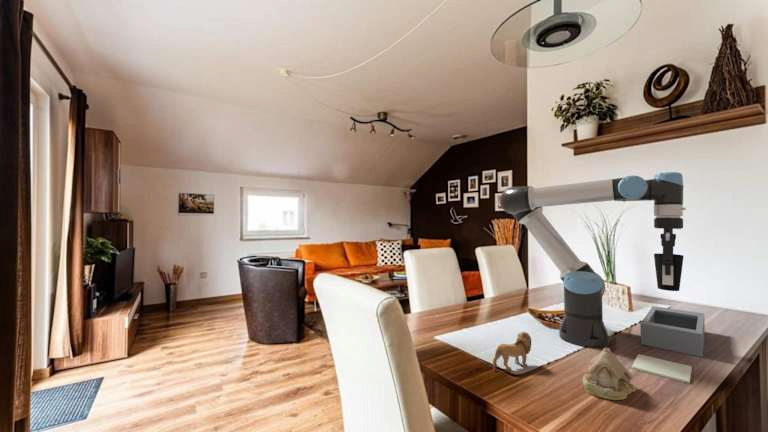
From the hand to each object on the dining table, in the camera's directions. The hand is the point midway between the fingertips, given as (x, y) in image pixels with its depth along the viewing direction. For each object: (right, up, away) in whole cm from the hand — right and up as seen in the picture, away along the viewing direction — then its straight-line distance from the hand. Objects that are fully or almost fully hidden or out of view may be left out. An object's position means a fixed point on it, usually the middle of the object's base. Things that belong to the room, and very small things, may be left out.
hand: (668, 282), depth 110 cm
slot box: (+6, -21, +5) cm, 22 cm away
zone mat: (-19, -20, -19) cm, 34 cm away
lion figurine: (-61, -21, -16) cm, 66 cm away
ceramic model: (-42, -21, -29) cm, 55 cm away
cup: (0, -2, 0) cm, 2 cm away
